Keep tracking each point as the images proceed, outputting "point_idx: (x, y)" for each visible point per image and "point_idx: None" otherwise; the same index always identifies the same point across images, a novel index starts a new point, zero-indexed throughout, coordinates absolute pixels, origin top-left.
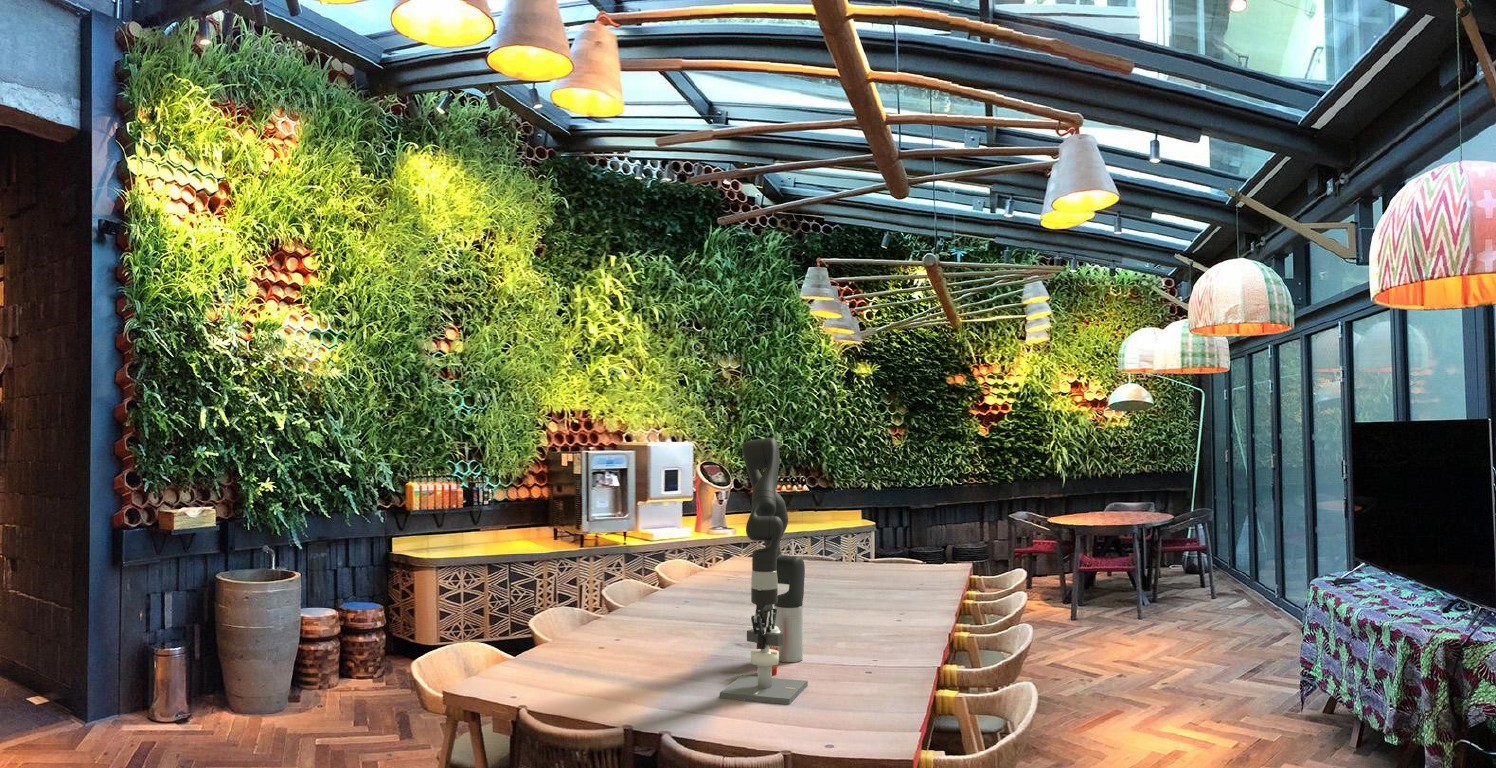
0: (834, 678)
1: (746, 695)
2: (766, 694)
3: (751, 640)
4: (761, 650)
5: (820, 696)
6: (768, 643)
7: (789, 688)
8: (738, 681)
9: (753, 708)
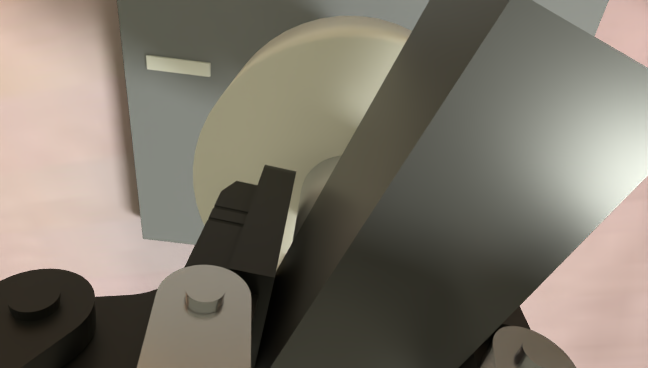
0: (627, 345)
1: (119, 5)
2: (174, 124)
3: (390, 78)
4: (307, 181)
5: None
6: None
7: None
8: None
9: (7, 71)
